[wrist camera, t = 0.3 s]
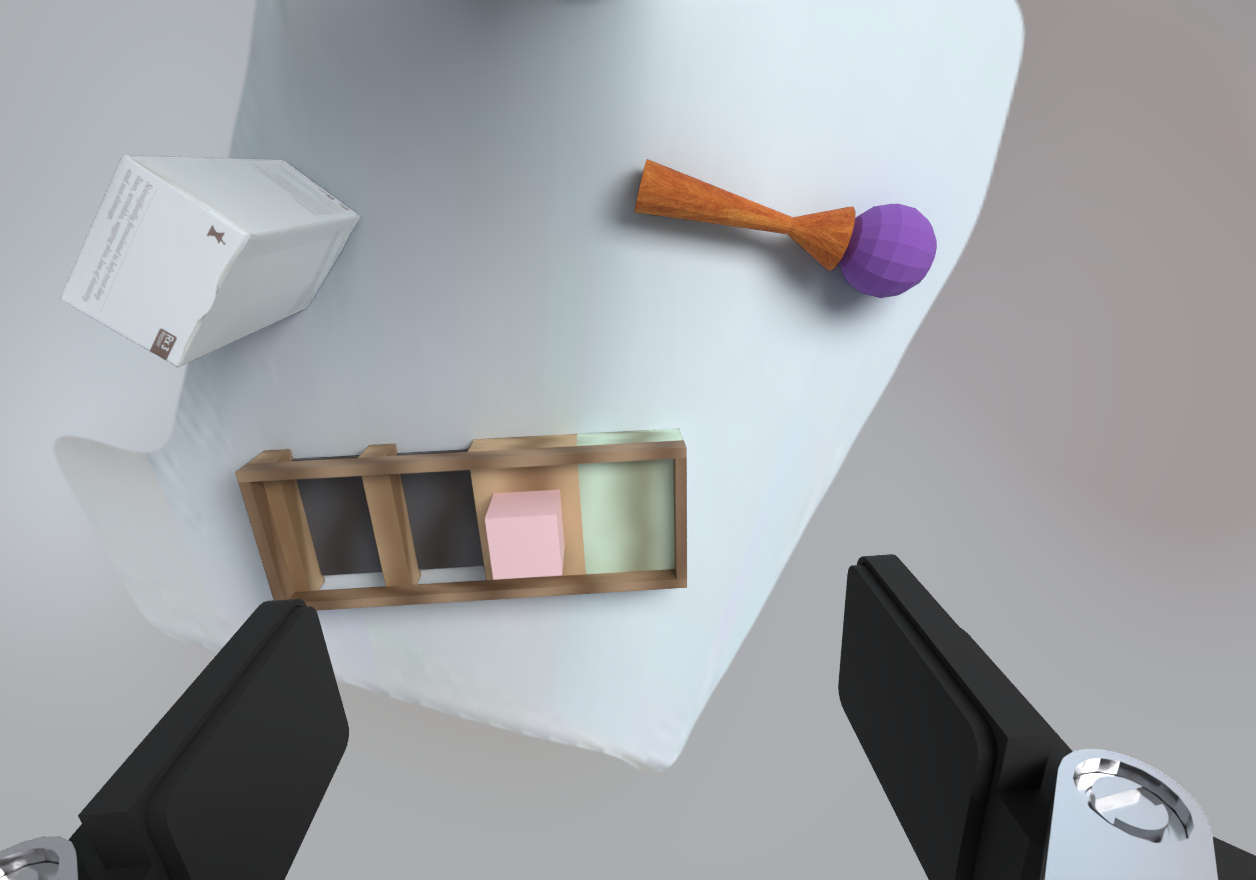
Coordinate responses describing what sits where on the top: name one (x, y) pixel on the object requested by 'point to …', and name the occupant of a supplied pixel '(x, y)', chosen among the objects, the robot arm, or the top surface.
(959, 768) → the robot arm
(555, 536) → the rose block
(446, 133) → the top surface
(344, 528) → the box
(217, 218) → the skincare box
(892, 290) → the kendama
